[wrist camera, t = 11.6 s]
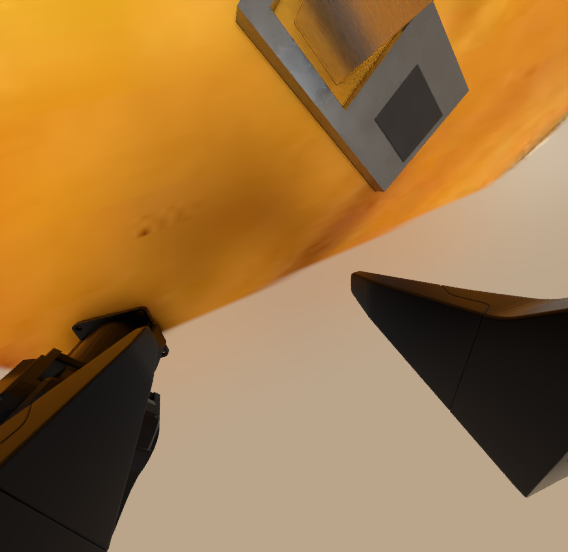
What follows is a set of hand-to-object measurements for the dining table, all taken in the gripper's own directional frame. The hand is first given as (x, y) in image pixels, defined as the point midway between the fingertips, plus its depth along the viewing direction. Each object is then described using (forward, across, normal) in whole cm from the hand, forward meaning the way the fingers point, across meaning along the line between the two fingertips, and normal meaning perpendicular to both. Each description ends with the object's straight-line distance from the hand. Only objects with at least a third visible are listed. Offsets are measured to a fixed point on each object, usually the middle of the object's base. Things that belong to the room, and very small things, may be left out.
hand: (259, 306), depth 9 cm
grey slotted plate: (+13, -13, -12) cm, 22 cm away
